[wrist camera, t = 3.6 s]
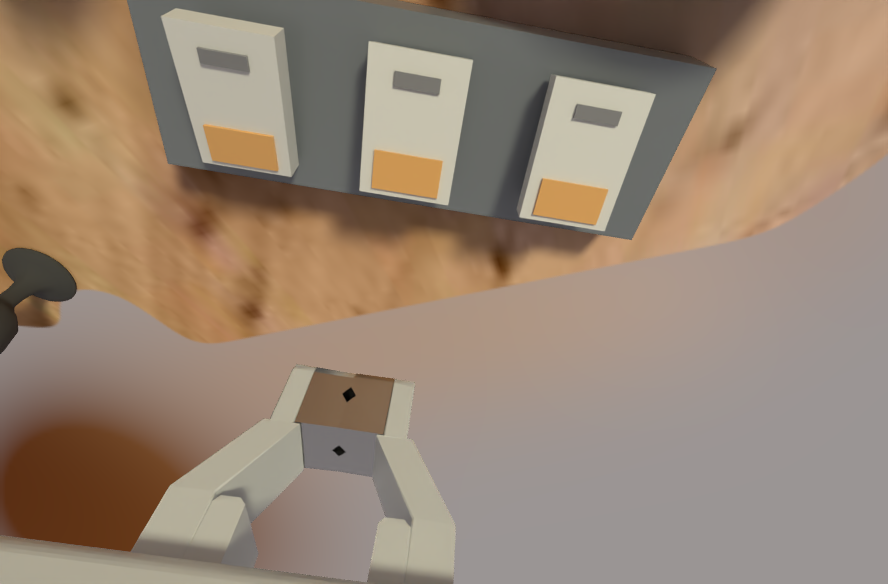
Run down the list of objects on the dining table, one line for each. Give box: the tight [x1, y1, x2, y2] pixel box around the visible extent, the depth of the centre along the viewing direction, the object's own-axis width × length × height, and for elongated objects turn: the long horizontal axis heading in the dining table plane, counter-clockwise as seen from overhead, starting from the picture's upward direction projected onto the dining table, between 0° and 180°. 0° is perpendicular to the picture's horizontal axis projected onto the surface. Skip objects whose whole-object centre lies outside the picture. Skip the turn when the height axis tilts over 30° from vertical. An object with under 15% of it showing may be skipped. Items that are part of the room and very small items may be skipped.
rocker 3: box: [517, 74, 656, 231], centre depth 21 cm, size 4×6×2 cm
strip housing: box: [127, 0, 716, 240], centre depth 22 cm, size 26×9×3 cm, turn 81°
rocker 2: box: [359, 41, 473, 205], centre depth 20 cm, size 4×6×2 cm
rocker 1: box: [161, 8, 299, 177], centre depth 20 cm, size 4×6×2 cm
